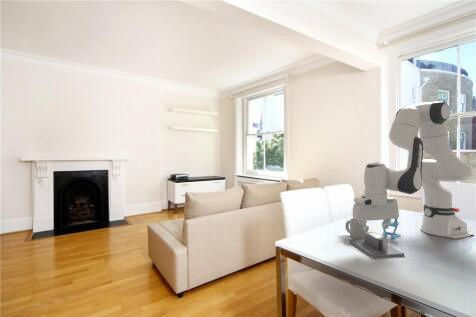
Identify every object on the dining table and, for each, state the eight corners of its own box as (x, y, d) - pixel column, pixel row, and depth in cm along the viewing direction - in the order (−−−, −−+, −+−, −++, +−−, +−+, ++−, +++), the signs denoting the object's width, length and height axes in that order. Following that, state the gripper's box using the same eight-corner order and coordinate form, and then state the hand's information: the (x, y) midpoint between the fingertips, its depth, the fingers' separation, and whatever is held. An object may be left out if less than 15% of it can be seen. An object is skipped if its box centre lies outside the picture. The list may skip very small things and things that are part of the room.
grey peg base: (376, 240, 115) (376, 226, 115) (404, 256, 98) (404, 239, 98) (349, 242, 113) (349, 227, 113) (373, 258, 96) (373, 241, 96)
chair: (379, 237, 120) (379, 213, 120) (383, 232, 126) (383, 210, 126) (397, 240, 115) (397, 216, 114) (400, 236, 121) (400, 213, 120)
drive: (373, 242, 110) (373, 231, 110) (387, 250, 101) (387, 238, 101) (364, 242, 110) (364, 231, 110) (377, 250, 101) (377, 239, 101)
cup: (361, 241, 114) (361, 223, 114) (342, 235, 122) (342, 218, 122) (368, 238, 119) (368, 220, 118) (349, 232, 127) (349, 216, 126)
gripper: (391, 196, 109) (391, 225, 110) (350, 198, 107) (350, 228, 108) (402, 199, 103) (402, 229, 104) (358, 201, 101) (359, 233, 101)
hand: (375, 229), depth 106 cm, fingers open, 8 cm apart
